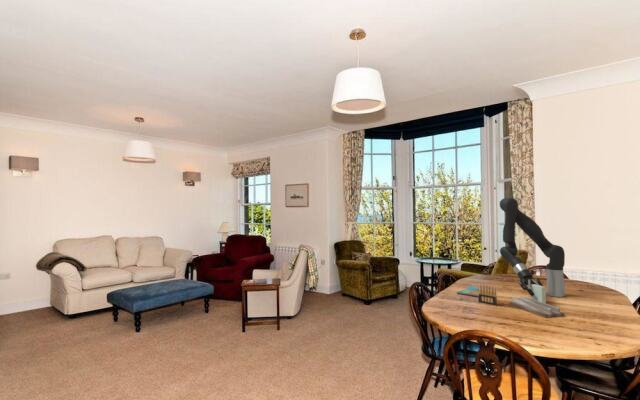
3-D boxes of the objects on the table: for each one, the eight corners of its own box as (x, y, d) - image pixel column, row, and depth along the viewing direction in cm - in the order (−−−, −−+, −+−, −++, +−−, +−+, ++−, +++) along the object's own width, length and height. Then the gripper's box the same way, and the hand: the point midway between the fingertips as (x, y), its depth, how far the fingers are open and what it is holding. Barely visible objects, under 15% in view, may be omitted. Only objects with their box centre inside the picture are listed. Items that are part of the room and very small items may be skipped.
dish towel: (495, 292, 242) (494, 289, 242) (481, 299, 226) (481, 295, 226) (470, 289, 255) (470, 285, 255) (455, 294, 238) (455, 291, 238)
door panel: (534, 302, 215) (534, 284, 215) (545, 305, 207) (545, 287, 208) (531, 302, 215) (530, 284, 215) (542, 306, 207) (541, 287, 207)
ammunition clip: (497, 305, 210) (496, 284, 211) (496, 305, 209) (495, 285, 209) (479, 301, 218) (479, 282, 219) (478, 302, 217) (477, 282, 218)
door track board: (526, 303, 213) (525, 295, 213) (564, 316, 187) (564, 307, 187) (509, 304, 210) (508, 297, 210) (545, 317, 185) (545, 309, 185)
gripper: (516, 269, 219) (531, 292, 207) (535, 268, 222) (551, 290, 210) (509, 276, 224) (524, 299, 212) (529, 275, 227) (544, 297, 215)
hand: (538, 294), depth 211 cm, fingers open, 7 cm apart
